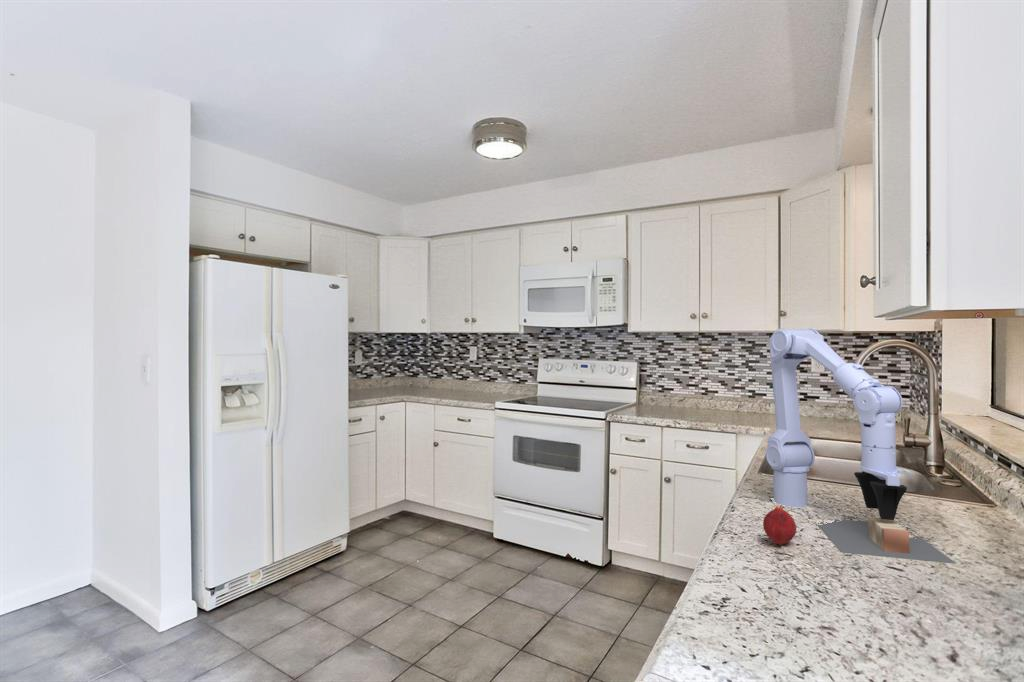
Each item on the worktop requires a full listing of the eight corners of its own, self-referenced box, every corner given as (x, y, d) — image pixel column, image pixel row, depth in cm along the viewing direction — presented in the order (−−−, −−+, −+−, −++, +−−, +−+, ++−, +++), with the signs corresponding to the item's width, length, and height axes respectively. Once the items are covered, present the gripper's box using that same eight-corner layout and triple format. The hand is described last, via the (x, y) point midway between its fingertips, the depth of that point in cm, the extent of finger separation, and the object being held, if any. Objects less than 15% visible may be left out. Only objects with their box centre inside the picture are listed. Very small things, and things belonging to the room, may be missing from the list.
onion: (799, 552, 98) (798, 510, 98) (765, 549, 100) (765, 507, 100) (793, 542, 103) (792, 502, 103) (761, 538, 105) (761, 499, 105)
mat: (810, 519, 118) (810, 517, 118) (903, 526, 112) (903, 524, 112) (841, 554, 97) (841, 552, 97) (957, 566, 91) (957, 563, 91)
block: (868, 517, 105) (883, 529, 97) (891, 518, 104) (909, 531, 96) (868, 536, 105) (884, 551, 97) (891, 538, 104) (909, 553, 96)
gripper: (918, 453, 97) (919, 526, 96) (886, 441, 110) (888, 505, 110) (874, 451, 99) (875, 523, 98) (849, 439, 112) (850, 502, 112)
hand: (879, 513), depth 104 cm, fingers open, 7 cm apart
